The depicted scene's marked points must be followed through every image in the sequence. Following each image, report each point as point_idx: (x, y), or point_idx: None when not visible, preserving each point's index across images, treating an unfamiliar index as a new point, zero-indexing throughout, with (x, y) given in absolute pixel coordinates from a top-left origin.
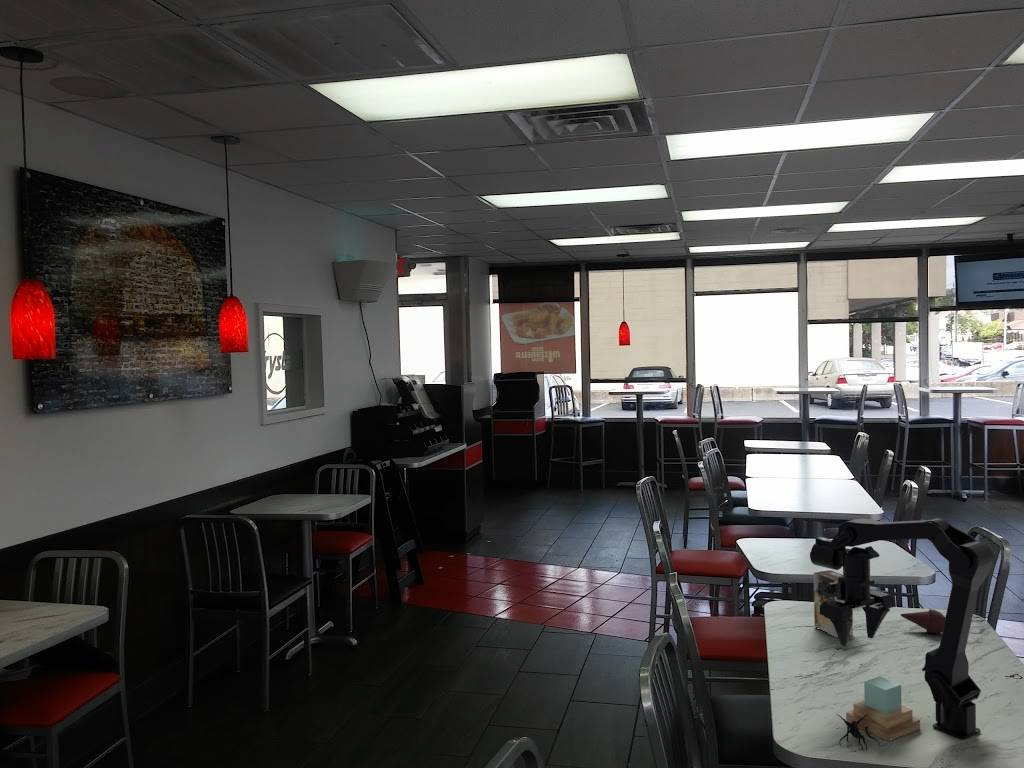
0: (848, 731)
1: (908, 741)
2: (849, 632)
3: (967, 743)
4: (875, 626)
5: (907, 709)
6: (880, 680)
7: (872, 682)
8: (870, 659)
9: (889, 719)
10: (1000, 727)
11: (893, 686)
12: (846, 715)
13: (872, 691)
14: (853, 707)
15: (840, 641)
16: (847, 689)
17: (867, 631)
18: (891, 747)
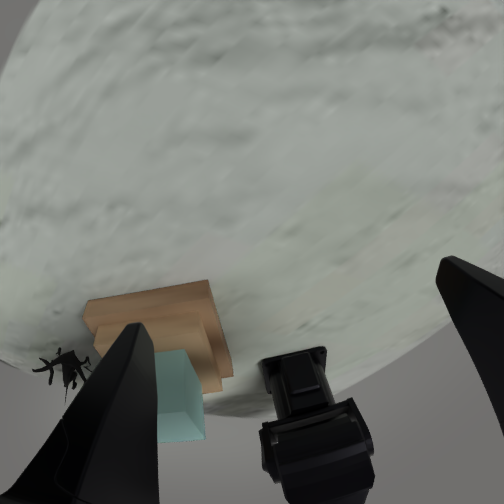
0: (52, 373)
1: None
2: (151, 477)
3: (265, 395)
4: (479, 365)
5: (211, 389)
6: (166, 422)
7: None
8: (481, 16)
9: None
10: (364, 367)
11: (177, 440)
12: (84, 312)
13: None
14: (95, 337)
15: (116, 347)
16: (240, 122)
17: (467, 281)
18: None
